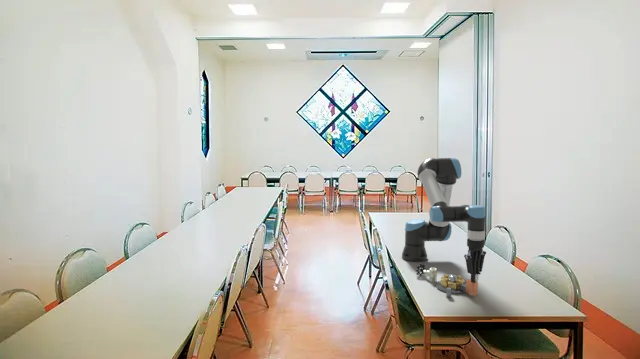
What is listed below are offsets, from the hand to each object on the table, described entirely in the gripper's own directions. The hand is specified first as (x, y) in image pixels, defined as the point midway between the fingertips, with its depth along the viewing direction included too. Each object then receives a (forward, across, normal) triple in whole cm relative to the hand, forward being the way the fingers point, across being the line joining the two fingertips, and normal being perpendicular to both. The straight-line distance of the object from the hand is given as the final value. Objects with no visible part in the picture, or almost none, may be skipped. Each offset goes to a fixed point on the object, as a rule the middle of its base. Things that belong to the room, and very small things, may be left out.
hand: (474, 287), depth 201 cm
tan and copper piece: (+3, +1, -8) cm, 8 cm away
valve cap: (+4, +1, -12) cm, 13 cm away
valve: (+4, +2, -28) cm, 28 cm away
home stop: (+4, +11, -5) cm, 13 cm away
